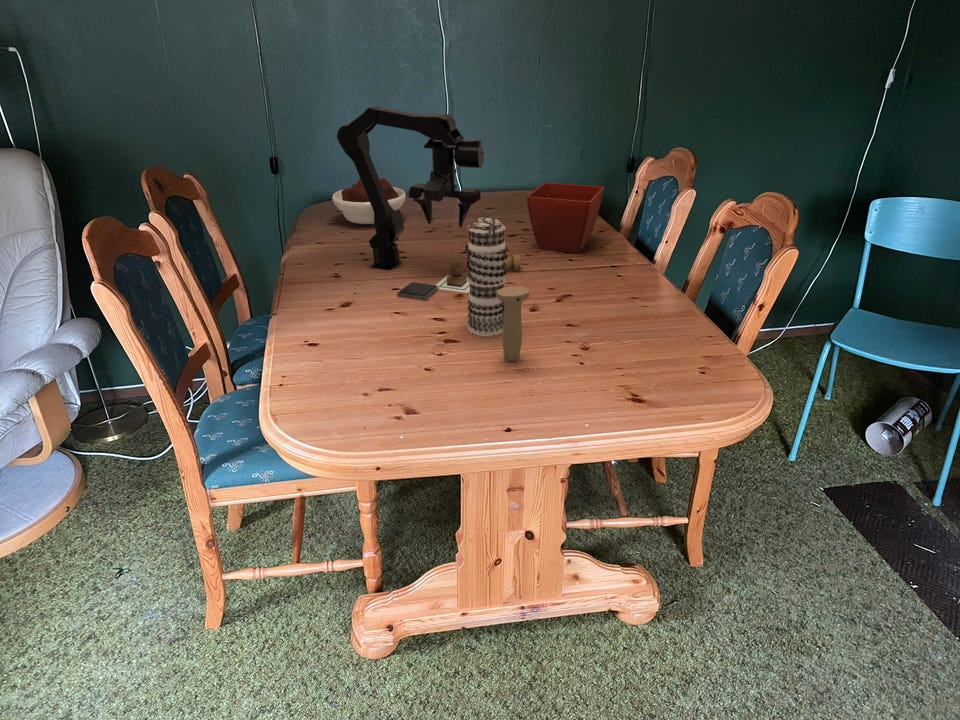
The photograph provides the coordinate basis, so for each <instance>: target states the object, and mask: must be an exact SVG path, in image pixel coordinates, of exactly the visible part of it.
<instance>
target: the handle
mask: <svg viewBox="0 0 960 720" xmlns="http://www.w3.org/2000/svg"><path fill="white" fill-rule="evenodd" d="M529 297H530V289H529V288H527V287H525V286H522V285H521V286H520V285H519V286H507V287H504V288H502V289H499V290H497V298H498V299H499V300H500V301H502V302H504V321H503V332H502V333H501V335H502V350H503V353H502V354H503V358H504V359H505V360H506V362H513V363H514V361H515V362H516V361H517V360H519V359H520V357H521V349H522V342H523V326H522V323H523V322H522V303H523V302H524V301H525V300H528V299H529Z"/></svg>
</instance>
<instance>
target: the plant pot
mask: <svg viewBox="0 0 960 720" xmlns="http://www.w3.org/2000/svg"><path fill="white" fill-rule="evenodd" d="M604 191H605V189H604V186H597V185H581V184H569V183H556V182H543V183H542V184H541V185H539V186H538V187H537V188H535V189H534V190H532V191H531V192H530V193H529V194H527V195H526V201H527V208H528V215H529V219H530V224H531V227H532V231H533V234H534V238H535V241H536V242H535V243H536V244H537V247H538V249H540V250H545V251H546V250H547V251H554V252H564V253H565V252H566V253H572V254H573V253H575V254H578V253H580V252H581V251H582V250H583V248H584V247H585V246H586V245H587V244H588V242H589V241H590V238H591V236H592V233H593V231H594V227H595V224H596V222H597V219H598V216H599V211H600V208H601V205H602V204H601V202H602V198H603V195H604Z"/></svg>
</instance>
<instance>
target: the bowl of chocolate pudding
mask: <svg viewBox="0 0 960 720" xmlns="http://www.w3.org/2000/svg"><path fill="white" fill-rule="evenodd" d="M379 180H380V182H381V185H382V187H383V190H384V192H385V195H386V197H387V200H388V202H389V205H390V206H391V207H392V208H393V209H394V210H395V211H396V210H398V209H399V210H400V208H401V207H402V206H403V204H404V203H405V201H406V197H407V196H406V194H407V193H406V192H405V190H403V189H402V188H398V187H395V186H392V185H391V183H390V182H389V181H388V180H387V179H386V178H385V177H382V178H379ZM331 199H332V202H333V204H334V206H335V207H337V209H338V210H339V211H341V213H342V214H343V216H344V218H345V220H347V221H348V222H351V223H353V224H359V225H374V211H373V209H372V206H371V204H370V201H369V199H368V196H367V194H366V191H365V189H364V186H363V184H362V182H361V179H360V178H358V180H357V182H356V183H353V184H352V185H351V187H347V188H344V189H340V190H338V191H336V192H334V193H333V194H332V197H331Z"/></svg>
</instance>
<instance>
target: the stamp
mask: <svg viewBox="0 0 960 720" xmlns="http://www.w3.org/2000/svg"><path fill="white" fill-rule="evenodd" d="M449 257H450V258H449V261H450V262H449V263H450V265H449V266H450V273H449V275H448V276H447V275H446V276H447V286H455V287H462V286H463V285H464V284H465V283H466V282H467V278H468V276H467V273H465V272H464V271H463V270H464V268H463V267H464V266H463V262H464V261H463V259H464V258H463V256H462V255H460V254H459V255H458V254H454V255H450V256H449Z"/></svg>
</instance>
